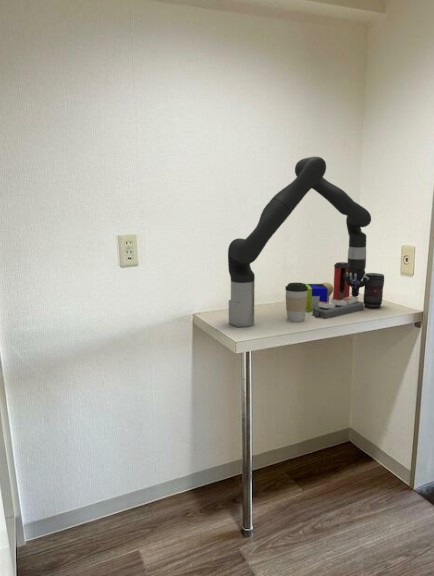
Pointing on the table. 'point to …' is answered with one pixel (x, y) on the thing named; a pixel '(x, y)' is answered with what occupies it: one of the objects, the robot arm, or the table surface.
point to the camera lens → (373, 291)
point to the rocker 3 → (350, 299)
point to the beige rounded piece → (330, 290)
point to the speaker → (340, 281)
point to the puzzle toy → (315, 295)
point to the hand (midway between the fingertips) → (355, 296)
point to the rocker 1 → (326, 305)
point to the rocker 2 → (338, 302)
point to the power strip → (337, 310)
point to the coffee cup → (296, 301)
